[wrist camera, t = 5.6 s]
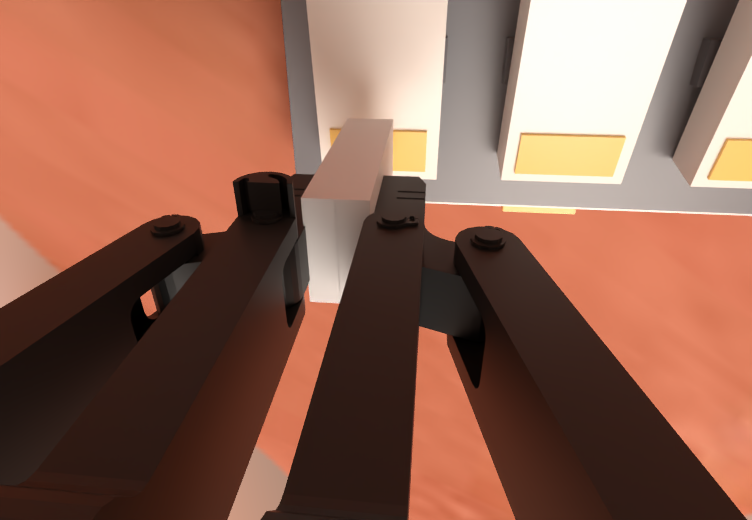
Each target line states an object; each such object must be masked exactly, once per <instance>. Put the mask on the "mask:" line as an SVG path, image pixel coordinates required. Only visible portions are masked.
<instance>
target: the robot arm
mask: <svg viewBox="0 0 752 520" xmlns="http://www.w3.org/2000/svg"><path fill="white" fill-rule="evenodd" d="M233 187H234V193H235V199H236V205H237V211H238V217H237V218H236V219H235V221H234V222H233V223H232V225H231V226H230V227H229V228H228V230H227V231H225V232H218V233H209V234H202V230H201V226H200V222H199V221H198V220H197V219H196V218H193V217H190V216H180V215H171V216H170V215H166V216H162V217H161V218H158V219H154V220H152V221H149V222H147V223H145V224H143V225H141V226H139V227H138V228H136V229H134V230H133V231H131V232H129V233H128V234H126V235H124V236H122V237H121V238H119V239H117V240H116V241H114V242H112V243H111V244H109V245H107V246H105V247H104V248H102V249H100V250H99V251H97V252H95V253H94V254H92V255H90V256H88V257H87V258H85V259H83V260H82V261H80V262H78V263H77V264H75V265H73V266H71V267H70V268H68V269H66V270H65V271H63V272H61V273H59V274H58V275H56V276H55V277H53V278H51V279H49V280H48V281H46V282H45V283H43V284H41V285H39V286H37V287H36V288H34V289H32V290H31V291H29V292H27V293H26V294H24V295H22V296H20V297H19V298H17V299H15V300H14V301H12V302H10V303H8V304H7V305H5V306H4V307H2V308H0V520H227V519H228V516H229V514H230V511H231V508H232V506H233V503H234V500H235V498H236V495H237V492H238V490H239V487H240V485H241V482H242V479H243V477H244V474H245V471H246V468H247V466H248V463H249V460H250V458H251V455H252V453H253V450H254V447H255V445H256V442H257V439H258V437H259V434H260V431H261V429H262V426H263V424H264V421H265V418H266V416H267V413H268V410H269V408H270V405H271V402H272V400H273V397H274V394H275V392H276V389H277V386H278V384H279V381H280V378H281V376H282V373H283V370H284V368H285V365H286V363H287V360H288V357H289V355H290V352H291V349H292V347H293V344H294V341H295V339H296V336H297V333H298V331H299V328H300V325H301V323H302V320H303V317H304V315H305V300H304V293H305V290H306V288H307V286H308V284H309V295H310V302H326V303H340V304H339V307H338V310H337V314H336V317H335V321H334V324H333V327H332V331H331V334H330V337H329V341H328V344H327V348H326V351H325V354H324V358H323V361H322V365H321V368H320V371H319V375H318V378H317V382H316V385H315V388H314V392H313V395H312V398H311V402H310V405H309V409H308V412H307V415H306V419H305V422H304V426H303V429H302V432H301V436H300V439H299V443H298V446H297V449H296V453H295V456H294V459H293V463H292V466H291V470H290V473H289V476H288V480H287V483H286V487H285V490H284V493H283V496H282V499H281V502H280V504H279V506H278V507H277V509H276V510H273V511H267V512H266V513H265V514H264V516H263V517H262V519H261V520H408V518H409V500H410V482H411V463H412V445H413V427H414V408H415V390H416V372H417V353H418V337H419V326H421V327H425V328H428V329H431V330H435V331H438V332H442V333H445V334H447V345H448V347H449V350H450V353H451V355H452V358H453V360H454V363H455V365H456V368H457V370H458V373H459V376H460V378H461V381H462V383H463V386H464V388H465V391H466V393H467V396H468V399H469V401H470V404H471V406H472V409H473V411H474V414H475V417H476V419H477V422H478V424H479V427H480V429H481V432H482V434H483V437H484V440H485V442H486V445H487V447H488V450H489V452H490V455H491V457H492V460H493V463H494V465H495V468H496V470H497V473H498V475H499V478H500V481H501V483H502V486H503V488H504V491H505V493H506V496H507V498H508V501H509V504H510V506H511V509H512V511H513V514H514V516H515V519H516V520H747V519H746V518H745V517H744V515H743V514H742V513H741V512H740V510H739V509H738V508H737V507H736V505H735V504H734V503H733V502H732V501H731V499H730V498H729V497H728V496H727V494H726V493H725V492H724V491H723V489H722V488H721V487H720V486H719V484H718V483H717V482H716V481H715V480H714V478H713V477H712V476H711V475H710V473H709V472H708V471H707V470H706V468H705V467H704V466H703V465H702V463H701V462H700V461H699V460H698V459H697V457H696V456H695V455H694V454H693V452H692V451H691V450H690V449H689V447H688V446H687V445H686V444H685V443H684V441H683V440H682V439H681V438H680V436H679V435H678V434H677V433H676V431H675V430H674V429H673V428H672V426H671V425H670V424H669V423H668V422H667V420H666V419H665V418H664V417H663V415H662V414H661V413H660V412H659V410H658V409H657V408H656V407H655V405H654V404H653V403H652V402H651V401H650V399H649V398H648V397H647V396H646V394H645V393H644V392H643V391H642V389H641V388H640V387H639V386H638V385H637V383H636V382H635V381H634V380H633V378H632V377H631V376H630V375H629V373H628V372H627V371H626V370H625V368H624V367H623V366H622V365H621V364H620V362H619V361H618V360H617V359H616V357H615V356H614V355H613V354H612V352H611V351H610V350H609V349H608V347H607V346H606V345H605V344H604V343H603V341H602V340H601V339H600V338H599V336H598V335H597V334H596V333H595V331H594V330H593V329H592V328H591V327H590V325H589V324H588V323H587V322H586V320H585V319H584V318H583V317H582V315H581V314H580V313H579V312H578V310H577V309H576V308H575V307H574V306H573V304H572V303H571V302H570V301H569V299H568V298H567V297H566V296H565V294H564V293H563V292H562V291H561V289H560V288H559V287H558V286H557V285H556V283H555V282H554V281H553V280H552V278H551V277H550V276H549V275H548V273H547V272H546V271H545V270H544V269H543V267H542V266H541V265H540V264H539V262H538V261H537V260H536V259H535V257H534V256H533V255H532V254H531V252H530V251H529V250H528V249H527V248H526V246H525V245H524V244H523V243H522V241H521V240H520V239H519V238H518V237H516V236H515V235H514V234H513V233H510V232H508V231H505V230H503V229H501V228H498V227H495V228H494V227H493V226H485V227H473V228H467V229H465V230H463V231H461V232H459V233H458V235H457V236H456V238H455V242H453V241H448V240H445V239H441V238H439V237H436V236H434V235H432V234H431V233H430V232H428V231H427V229H426V228H425V225H424V216H425V196H426V183H425V182H424V181H423V180H422V179H421V178H420V177H416V176H393V119H359V118H348V119H347V121H346V122H345V124H344V126H343V127H342V129H341V131H340V132H339V134H338V136H337V138H336V139H335V141H334V143H333V144H332V146H331V148H330V149H329V151H328V153H327V154H326V156H325V158H324V160H323V161H322V163H321V165H320V166H319V168H318V170H317V171H316V173H315V174H294V175H293V176H291V177H290V176H289V175H286V174H283V173H278V172H258V173H252V174H247V175H244V176H241V177H239V178H237V179H236V180H234V181H233ZM150 289H151V291H152V295H153V298H154V302H155V305H156V309H157V311H156V312H154V313H153V314H152V315H150V316H148V317H147V316H146V314H145V312H144V309H143V306H142V302H141V299H140V297H141V296H142V295H143V294H145V293H146V292H147V291H149V290H150Z"/></svg>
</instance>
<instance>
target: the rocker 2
mask: <svg viewBox="0 0 752 520" xmlns="http://www.w3.org/2000/svg"><path fill="white" fill-rule="evenodd" d="M686 2H687V0H521V1H520V7H519V14H518V20H517V27H516V33H515V40H514V46H513V53H512V59H511V66H510V72H509V79H508V85H507V92H506V98H505V105H504V111H503V118H502V124H501V131H500V137H499V144H498V150H497V158H498V165H499V171H500V178H501V180H512V181H541V182H571V183H600V184H621V183H622V180H623V177H624V174H625V172H626V169H627V166H628V163H629V160H630V158H631V155H632V152H633V149H634V147H635V144H636V141H637V138H638V135H639V133H640V130H641V127H642V124H643V121H644V119H645V116H646V113H647V110H648V107H649V105H650V102H651V99H652V96H653V94H654V91H655V88H656V85H657V82H658V80H659V77H660V74H661V71H662V68H663V66H664V63H665V60H666V57H667V55H668V52H669V49H670V46H671V43H672V41H673V38H674V35H675V32H676V29H677V27H678V24H679V21H680V18H681V15H682V13H683V10H684V7H685V4H686Z"/></svg>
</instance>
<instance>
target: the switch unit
mask: <svg viewBox="0 0 752 520" xmlns="http://www.w3.org/2000/svg"><path fill="white" fill-rule="evenodd" d="M520 1H521V0H448V5H447V21H446V37H445V53H444V68H443V84H442V100H441V115H440V131H439V147H438V163H437V178H436V180H431V179H422V180H423V181H424V182H425V183H426V196H425V203H435V204H460V205H486V206H501V207H502V211H506V212H531V213H556V214H575V211H576V209H589V210H615V211H641V212H666V213H692V214H718V215H744V216H752V189H748V188H718V187H690V186H689V184H688V183H687V181H686V180H685V178H684V177H683V175H682V174H681V172H680V171H679V169H678V168H677V166H676V165H675V163H674V162H673V160H672V158H673V156H674V153H675V151H676V149H677V146H678V144H679V142H680V139H681V137H682V135H683V132H684V130H685V127H686V125H687V123H688V120H689V118H690V116H691V113H692V111H693V108H694V106H695V104H696V101H697V99H698V97H699V94H700V92H701V90H702V87H703V85H704V82H705V80H706V78H707V75H708V73H709V71H710V68H711V66H712V64H713V61H714V59H715V56H716V54H717V52H718V49H719V47H720V45H721V42H722V40H723V38H724V35H725V33H726V30H727V28H728V26H729V23H730V21H731V19H732V16H733V14H734V12H735V9H736V7H737V4H738V2H739V0H687V2H686V4H685V7H684V10H683V13H682V15H681V18H680V21H679V24H678V27H677V29H676V32H675V35H674V38H673V41H672V43H671V46H670V49H669V52H668V55H667V57H666V60H665V63H664V66H663V68H662V71H661V74H660V77H659V80H658V82H657V85H656V88H655V91H654V94H653V96H652V99H651V102H650V105H649V107H648V110H647V113H646V116H645V119H644V121H643V124H642V127H641V130H640V133H639V135H638V138H637V141H636V144H635V147H634V149H633V152H632V155H631V158H630V160H629V163H628V166H627V169H626V172H625V174H624V177H623V180H622V183H621V184H600V183H571V182H541V181H512V180H501V178H500V171H499V165H498V158H497V150H498V144H499V137H500V131H501V124H502V118H503V111H504V105H505V98H506V92H507V85H508V79H509V72H510V66H511V59H512V53H513V46H514V40H515V33H516V27H517V20H518V14H519V7H520ZM281 9H282V21H283V32H284V44H285V55H286V66H287V78H288V89H289V100H290V112H291V123H292V134H293V146H294V157H295V169H296V174H315V173H316V171H317V170H318V168H319V166H320V165H321V163H322V160H321V150H320V139H319V129H318V119H317V108H316V98H315V88H314V78H313V67H312V57H311V47H310V36H309V26H308V16H307V5H306V0H281Z"/></svg>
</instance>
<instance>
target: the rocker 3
mask: <svg viewBox="0 0 752 520" xmlns="http://www.w3.org/2000/svg"><path fill="white" fill-rule="evenodd" d="M672 160H673V162H674V163H675V165H676V166H677V168H678V169H679V171H680V172H681V174H682V175H683V177H684V178H685V180H686V181H687V183H688V184H689V186H690V187H718V188H748V189H752V0H739V2H738V4H737V7H736V9H735V12H734V14H733V16H732V19H731V21H730V23H729V26H728V28H727V30H726V33H725V35H724V38H723V40H722V42H721V45H720V47H719V49H718V52H717V54H716V56H715V59H714V61H713V64H712V66H711V68H710V71H709V73H708V75H707V78H706V80H705V82H704V85H703V87H702V90H701V92H700V94H699V97H698V99H697V101H696V104H695V106H694V108H693V111H692V113H691V116H690V118H689V120H688V123H687V125H686V127H685V130H684V132H683V135H682V137H681V139H680V142H679V144H678V146H677V149H676V151H675V153H674V156H673V158H672Z"/></svg>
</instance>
